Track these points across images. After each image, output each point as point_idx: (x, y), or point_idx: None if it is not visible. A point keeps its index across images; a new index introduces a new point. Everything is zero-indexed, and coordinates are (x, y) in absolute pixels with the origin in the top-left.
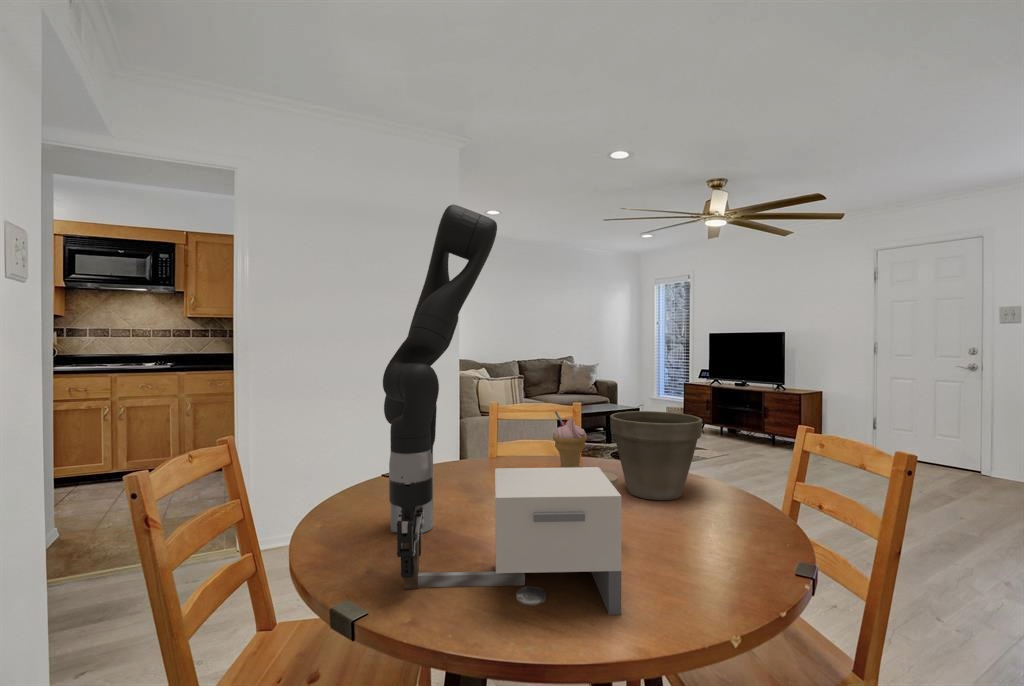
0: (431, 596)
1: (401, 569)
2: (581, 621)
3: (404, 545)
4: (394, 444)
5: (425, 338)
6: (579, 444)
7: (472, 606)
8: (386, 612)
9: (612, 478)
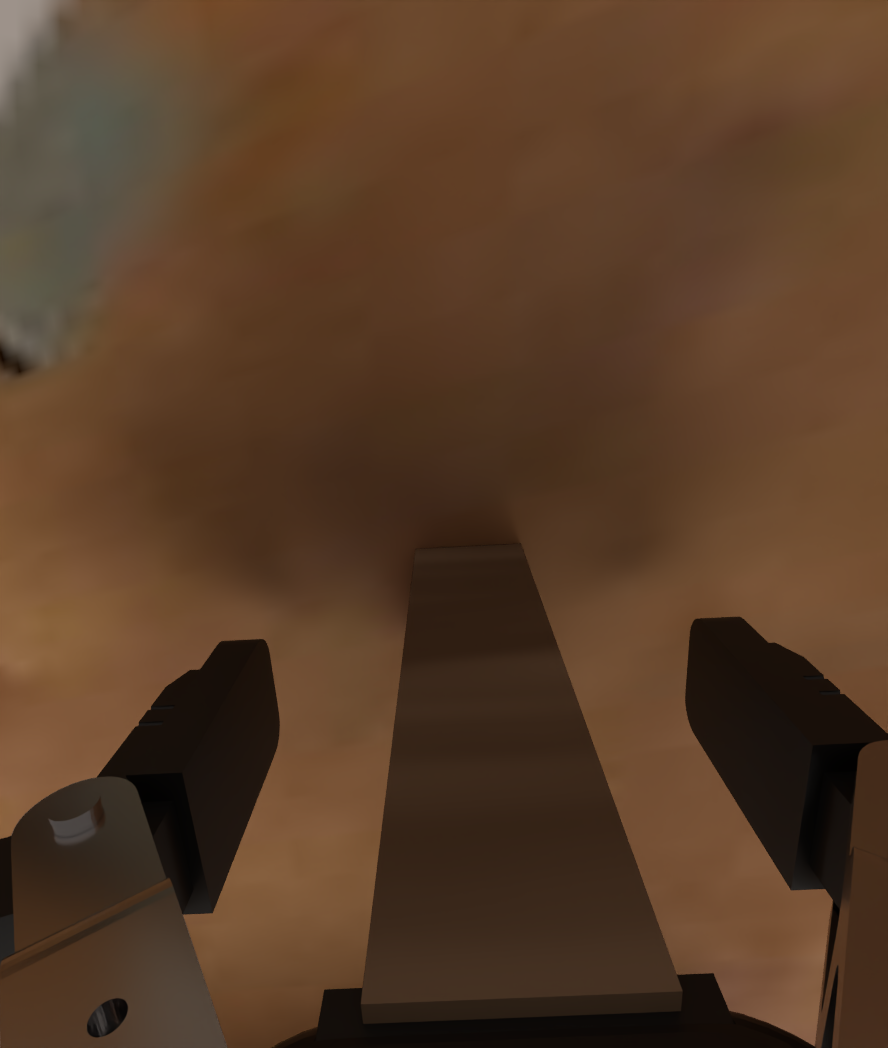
0: (321, 746)
1: (196, 681)
2: None
3: (392, 801)
4: None
5: None
6: None
7: (226, 959)
8: (70, 505)
9: None
